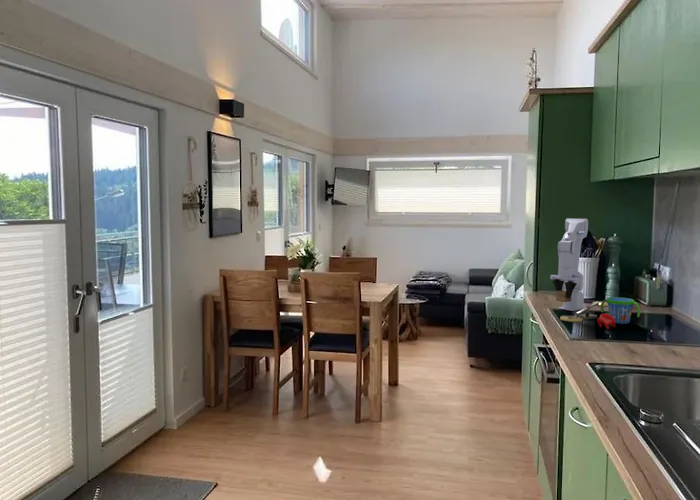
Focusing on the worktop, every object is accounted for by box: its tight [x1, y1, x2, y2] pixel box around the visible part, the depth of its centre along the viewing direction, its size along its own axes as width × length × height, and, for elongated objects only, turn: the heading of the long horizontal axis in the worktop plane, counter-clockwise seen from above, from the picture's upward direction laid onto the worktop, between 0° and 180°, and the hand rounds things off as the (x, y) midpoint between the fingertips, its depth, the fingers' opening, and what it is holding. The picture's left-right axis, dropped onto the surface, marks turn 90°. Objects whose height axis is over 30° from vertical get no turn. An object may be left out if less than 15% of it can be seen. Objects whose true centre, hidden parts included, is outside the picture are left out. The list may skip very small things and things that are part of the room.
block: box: [555, 290, 571, 303], centre depth 253 cm, size 4×4×4 cm
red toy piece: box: [596, 312, 616, 330], centre depth 229 cm, size 8×6×6 cm
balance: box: [559, 301, 608, 323], centre depth 248 cm, size 30×9×7 cm, turn 120°
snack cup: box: [600, 296, 641, 325], centre depth 239 cm, size 16×10×10 cm
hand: (563, 296), depth 253 cm, fingers closed on block, 4 cm apart
